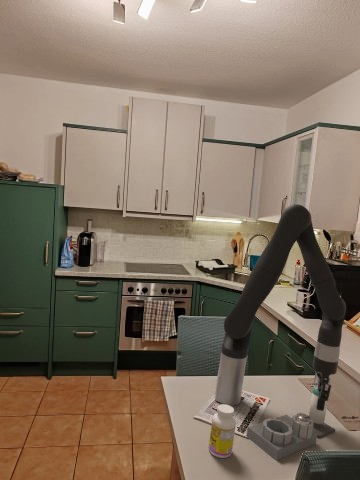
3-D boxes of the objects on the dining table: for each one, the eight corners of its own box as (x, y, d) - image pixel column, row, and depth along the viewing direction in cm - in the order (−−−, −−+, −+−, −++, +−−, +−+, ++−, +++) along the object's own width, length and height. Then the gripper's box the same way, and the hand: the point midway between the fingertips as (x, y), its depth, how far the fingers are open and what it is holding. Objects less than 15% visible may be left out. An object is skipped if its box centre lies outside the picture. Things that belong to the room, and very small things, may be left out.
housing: (276, 460, 105) (280, 436, 105) (246, 436, 115) (249, 414, 115) (315, 444, 116) (319, 422, 115) (285, 423, 125) (288, 403, 125)
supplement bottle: (206, 443, 109) (212, 401, 108) (228, 444, 110) (234, 402, 109) (210, 458, 102) (216, 414, 101) (233, 460, 103) (240, 415, 102)
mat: (318, 438, 119) (318, 435, 119) (295, 423, 126) (295, 420, 126) (334, 431, 124) (335, 429, 124) (311, 417, 131) (312, 415, 131)
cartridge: (309, 422, 123) (314, 389, 122) (307, 414, 128) (312, 383, 127) (325, 425, 122) (331, 393, 121) (322, 417, 127) (327, 386, 126)
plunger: (302, 437, 113) (304, 421, 112) (291, 429, 116) (293, 414, 116) (310, 434, 115) (313, 418, 115) (299, 427, 118) (302, 411, 118)
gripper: (343, 367, 115) (334, 419, 117) (333, 350, 129) (325, 397, 131) (318, 362, 117) (309, 414, 118) (311, 346, 131) (303, 393, 132)
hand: (318, 405), depth 124 cm, fingers closed on cartridge, 5 cm apart
